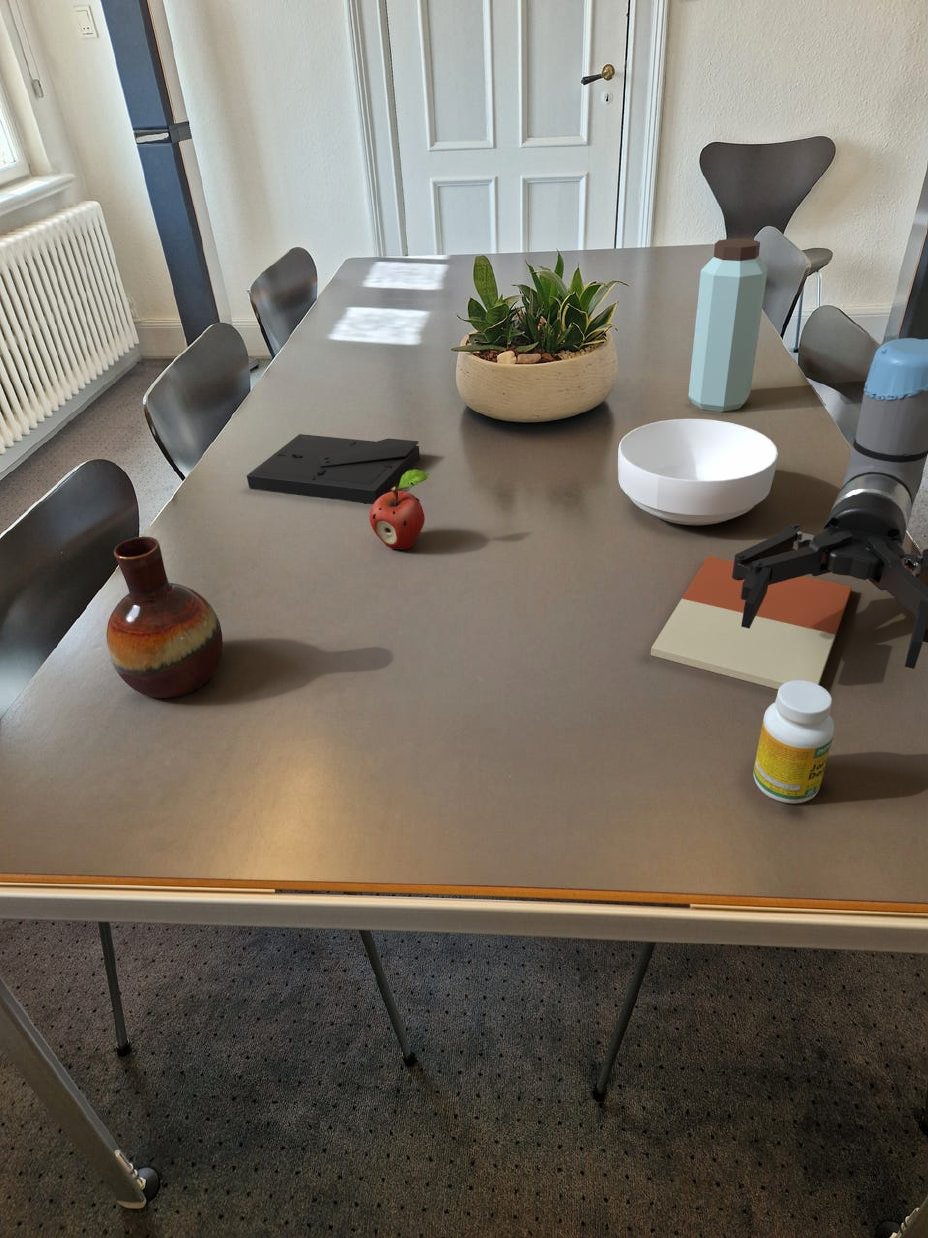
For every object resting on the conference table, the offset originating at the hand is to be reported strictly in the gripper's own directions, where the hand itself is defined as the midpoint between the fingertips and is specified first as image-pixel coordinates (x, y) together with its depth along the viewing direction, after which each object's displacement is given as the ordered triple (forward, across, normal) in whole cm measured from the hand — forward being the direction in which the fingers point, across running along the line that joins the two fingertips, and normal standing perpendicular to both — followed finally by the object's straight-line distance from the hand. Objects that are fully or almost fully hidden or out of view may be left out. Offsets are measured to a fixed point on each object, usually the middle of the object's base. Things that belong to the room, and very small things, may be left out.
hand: (826, 634), depth 73 cm
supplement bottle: (+10, 0, -9) cm, 13 cm away
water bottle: (-73, +29, -10) cm, 80 cm away
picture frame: (-25, +73, -10) cm, 78 cm away
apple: (-11, +52, -10) cm, 54 cm away
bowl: (-35, +22, -10) cm, 43 cm away
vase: (+22, +59, -9) cm, 63 cm away
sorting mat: (-12, +8, -9) cm, 17 cm away
